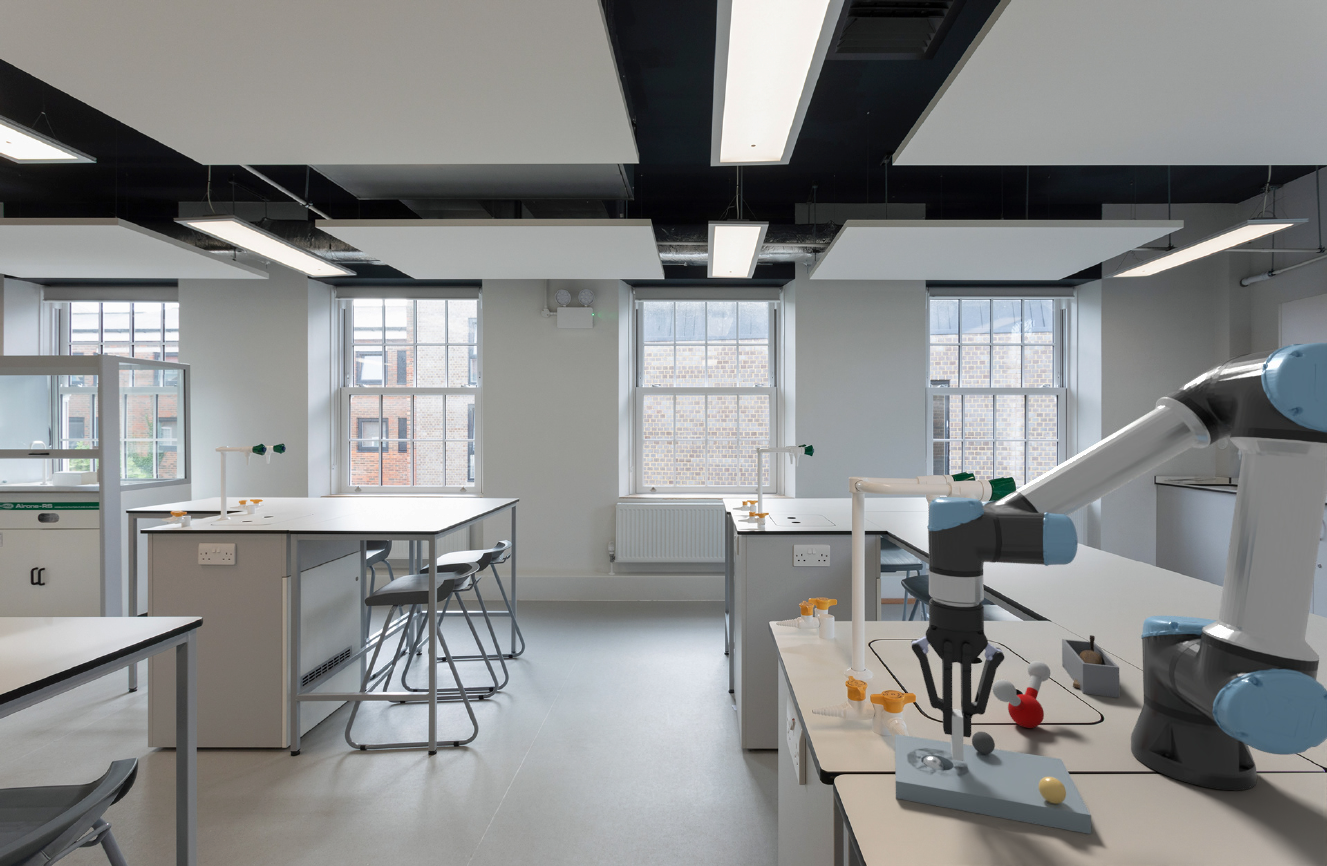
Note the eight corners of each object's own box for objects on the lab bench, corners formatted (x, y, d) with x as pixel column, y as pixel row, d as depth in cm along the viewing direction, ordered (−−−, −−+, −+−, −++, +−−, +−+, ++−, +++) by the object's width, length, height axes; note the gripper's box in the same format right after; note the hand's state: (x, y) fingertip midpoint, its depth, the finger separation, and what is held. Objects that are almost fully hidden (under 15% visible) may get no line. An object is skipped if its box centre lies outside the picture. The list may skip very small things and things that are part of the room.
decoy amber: (1063, 797, 85) (1062, 774, 85) (1069, 810, 82) (1068, 786, 82) (1036, 793, 86) (1036, 770, 86) (1041, 806, 83) (1041, 782, 83)
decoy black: (993, 749, 98) (993, 729, 98) (996, 759, 95) (996, 738, 95) (970, 746, 99) (970, 726, 99) (973, 756, 96) (973, 735, 96)
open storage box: (1094, 668, 138) (1094, 642, 138) (1119, 697, 123) (1119, 667, 123) (1062, 665, 140) (1062, 639, 140) (1083, 693, 125) (1082, 663, 125)
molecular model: (1022, 706, 119) (1022, 654, 119) (1057, 716, 115) (1057, 662, 115) (989, 736, 107) (989, 679, 107) (1027, 749, 103) (1026, 689, 103)
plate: (1061, 775, 95) (1061, 758, 95) (1091, 834, 81) (1090, 815, 81) (895, 748, 103) (895, 733, 103) (895, 798, 89) (895, 780, 89)
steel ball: (931, 747, 96) (916, 760, 97) (933, 757, 93) (917, 770, 94) (947, 764, 95) (932, 777, 96) (949, 775, 92) (934, 788, 93)
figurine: (1080, 666, 138) (1081, 628, 138) (1105, 672, 136) (1105, 633, 135) (1072, 687, 128) (1073, 645, 127) (1099, 693, 125) (1100, 650, 125)
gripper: (1000, 597, 95) (1001, 751, 94) (908, 590, 99) (910, 737, 99) (1008, 610, 88) (1010, 776, 87) (910, 602, 92) (911, 760, 92)
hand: (957, 755), depth 93 cm, fingers closed
